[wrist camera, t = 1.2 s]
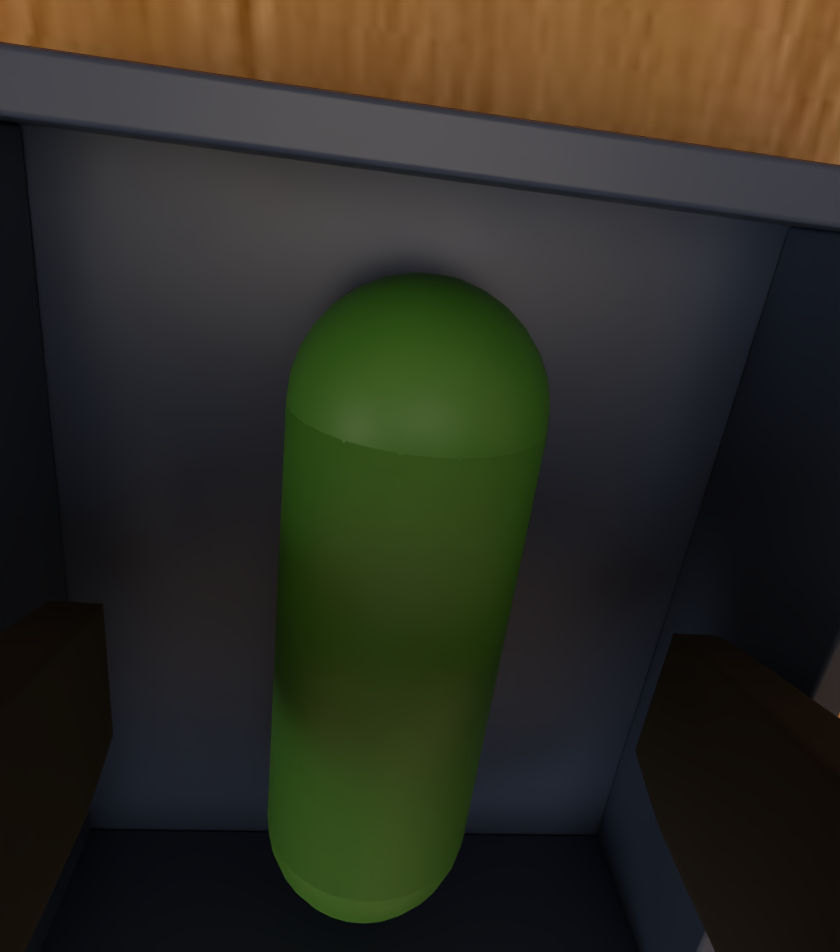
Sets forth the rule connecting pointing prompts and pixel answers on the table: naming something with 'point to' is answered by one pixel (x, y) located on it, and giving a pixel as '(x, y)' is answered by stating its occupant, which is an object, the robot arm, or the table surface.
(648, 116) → the table surface
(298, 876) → the cucumber
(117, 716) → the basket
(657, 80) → the table surface
